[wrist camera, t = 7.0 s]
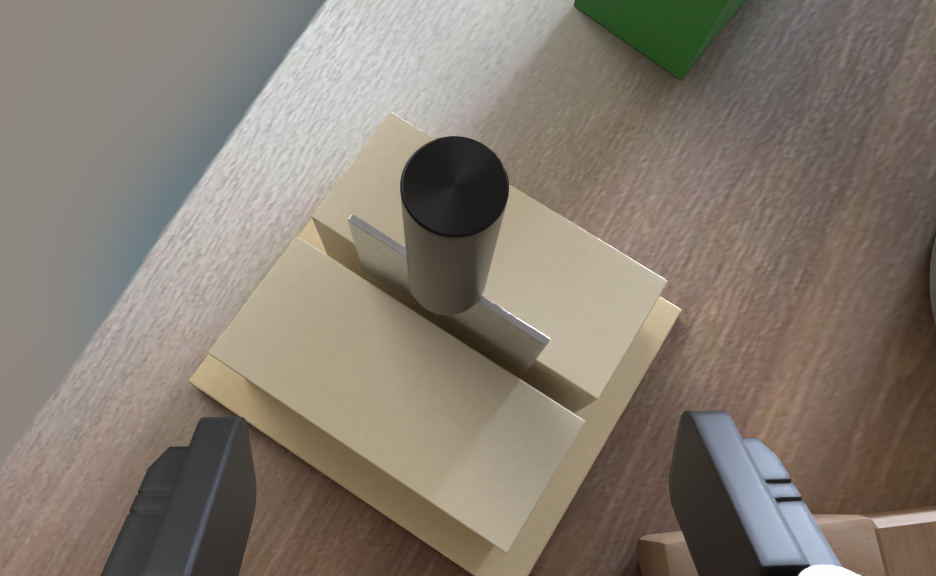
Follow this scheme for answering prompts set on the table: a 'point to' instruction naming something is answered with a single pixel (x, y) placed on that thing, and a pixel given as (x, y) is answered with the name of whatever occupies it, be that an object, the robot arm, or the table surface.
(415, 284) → the knife
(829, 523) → the wooden block set
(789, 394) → the table surface
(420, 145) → the slotted fixture
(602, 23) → the hardback book
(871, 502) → the table surface
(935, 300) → the cake pan
